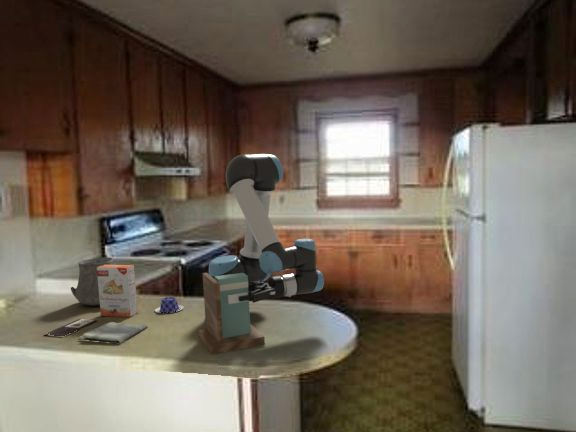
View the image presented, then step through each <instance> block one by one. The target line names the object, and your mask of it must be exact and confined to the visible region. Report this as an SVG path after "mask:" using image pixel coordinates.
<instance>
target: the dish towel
mask: <svg viewBox="0 0 576 432" xmlns="http://www.w3.org/2000/svg"><path fill="white" fill-rule="evenodd" d="M146 329H148V325H147V324H131V323H125V322H124V323H118V322H114V321H110V322H105V323H104V324H102V325H100V326H98V327H94V328H93V329H90V330H88V331H84V332H82V335H81V336H79V337H78V340H89V341H99V342H109V343H108V344H110V343H117V344H116V345H121V343H122V344H123V343H125V342H127V341H128V340H130V339H132V338H134V337H135V336H137V335H139V334H140V333H142V332H143V331H145V330H146ZM131 337H132V338H131ZM126 340H127V341H126ZM124 341H125V342H124ZM99 342H98V343H99ZM118 343H119V344H118Z"/></svg>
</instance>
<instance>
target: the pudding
mask: <svg viewBox="0 0 576 432" xmlns="http://www.w3.org/2000/svg"><path fill="white" fill-rule="evenodd" d="M179 307H180V308H181V309H180V308H179ZM184 307H185V306H184V305H181V304H178V301H177V299H176V297H174V296H166V297H164V298H162V299H161V302H160V306H159V307H157V308H155V309H154V312H155V313H157V314H165V313H164V312H167V313H168V312H170V314H172V313H174V312H175V311H176V312H175V313H177V312H179V311H182V310H184V309H185V308H184ZM178 309H180V310H178ZM173 311H174V312H173ZM161 312H163V313H161Z"/></svg>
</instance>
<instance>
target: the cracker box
mask: <svg viewBox="0 0 576 432" xmlns="http://www.w3.org/2000/svg"><path fill="white" fill-rule="evenodd" d="M97 276H98V288H99V300H100V305H99V308H100V309H99V310H100V316H101V317H112V318H113V317H117V318H131V317H133V316H135V315H137V314H138V313H139V312H138V299H137V286H136V285H137V284H136V273H135V264H112V265H103V266H99V267H97Z"/></svg>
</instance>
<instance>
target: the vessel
mask: <svg viewBox="0 0 576 432" xmlns="http://www.w3.org/2000/svg"><path fill="white" fill-rule="evenodd" d="M113 261H114V259H113V258H112V257H109V256H107V257H94V258H90V259H84V260H83V259H82V260H81V261H78V262H77V264H78V269H79V275H78V280H77V281H78V282H77V286H76V288H75V287H74V286H71V287H70V291H71V293H72V295H73V296H74V298H75V299H76V300H77V302H79V303H80V304H83V305H84V306H90V307H91V306H92V307H94V306H95V307H96V306H100V300H99V288H98V276H97V267H99V266H103V265H113Z"/></svg>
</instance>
